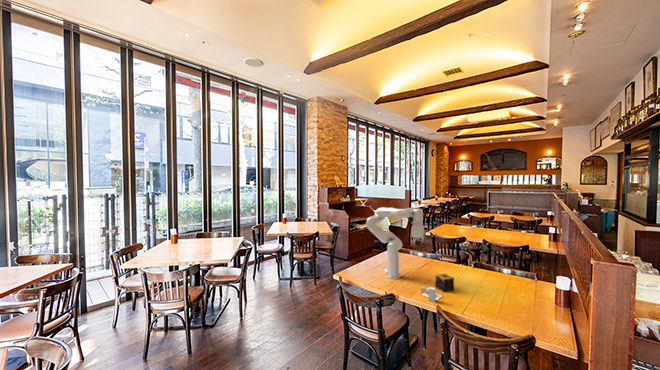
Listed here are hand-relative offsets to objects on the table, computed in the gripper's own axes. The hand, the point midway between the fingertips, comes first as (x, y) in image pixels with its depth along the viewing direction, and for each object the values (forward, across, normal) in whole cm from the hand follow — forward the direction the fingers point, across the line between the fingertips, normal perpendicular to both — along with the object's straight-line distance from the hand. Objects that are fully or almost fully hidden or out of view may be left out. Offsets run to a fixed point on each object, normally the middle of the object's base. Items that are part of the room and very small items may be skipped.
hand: (417, 245), depth 216 cm
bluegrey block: (+31, +23, -23) cm, 45 cm away
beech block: (+29, +12, -16) cm, 35 cm away
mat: (+31, +20, -16) cm, 40 cm away
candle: (+31, +21, +3) cm, 38 cm away
